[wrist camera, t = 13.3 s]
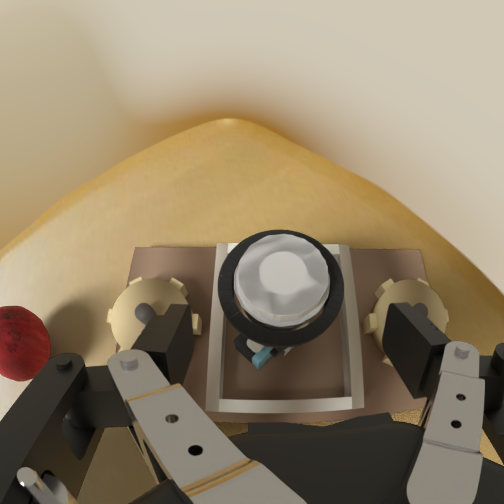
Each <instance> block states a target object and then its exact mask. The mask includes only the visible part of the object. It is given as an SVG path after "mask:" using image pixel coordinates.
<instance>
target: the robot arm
mask: <svg viewBox="0 0 504 504" xmlns="http://www.w3.org/2000/svg"><path fill="white" fill-rule="evenodd" d="M382 347H383V350H384V352H385V354H386V355H387V357H388V358H389V360H390V362H391V363H392V365H393V366H394V368H395V369H396V371H397V373H398V374H399V376H400V378H401V379H402V381H403V382H404V384H405V386H406V387H407V389H408V391H409V392H410V394H411V396H412V397H413V399H419V398H424V397H427V400H426V402H425V405H424V407H423V410H422V413H421V416H420V419H419V422H418V425H414V424H411V423H406V422H398V421H393V419H392V417H391V415H390V413H389V412H386V413H380V414H373V415H366V416H358V417H355V418H352V419H348V420H345V421H342V422H339V423H335V424H332V425H329V426H323V427H322V426H311V425H303V424H295V423H288V422H248V433H242V434H238V435H234V436H231V437H228V438H227V437H226V436H225V435H224V434H223V433H222V431H221V430H220V429H219V428H218V427H217V426H216V425H215V424H214V423H213V422H212V421H211V419H210V418H209V417H208V416H207V415H206V414H205V413H204V412H203V410H202V409H201V408H200V407H199V406H198V405H197V403H196V402H195V401H194V400H193V399H192V398H191V396H190V395H189V394H188V393H187V392H186V390H185V389H184V388H183V387H182V386H183V383H184V380H185V377H186V374H187V370H188V367H189V364H190V361H191V358H192V355H193V350H194V337H193V326H192V314H191V307H190V304H170V306H169V307H168V309H167V311H166V312H165V314H164V315H157V316H155V317H154V318H152V319H151V320H149V321H148V323H147V324H146V326H145V328H144V329H143V330H142V332H141V334H140V335H139V336H138V338H137V339H136V341H135V343H134V344H133V346H132V347H131V349H130V350H123V351H120V352H117V353H115V354H114V355H112V356H111V357H110V358H109V360H108V365H106V366H92V367H86V366H85V363H84V360H83V358H82V357H81V356H80V355H78V354H74V353H64V354H59V355H57V356H54V357H53V358H51V359H50V360H49V361H48V362H47V363H46V364H45V365H44V366H43V368H42V369H41V370H40V371H39V373H38V374H37V375H36V376H35V377H34V379H33V380H32V381H31V382H30V384H29V385H28V386H27V387H26V389H25V390H24V391H23V392H22V394H21V395H20V396H19V398H18V399H17V400H16V401H15V403H14V404H13V405H12V407H11V408H10V409H9V411H8V412H7V413H6V415H5V416H4V417H3V419H2V420H1V421H0V504H79V503H78V502H77V501H76V499H77V497H78V494H79V491H80V489H81V486H82V483H83V481H84V478H85V476H86V473H87V471H88V468H89V466H90V463H91V461H92V458H93V456H94V453H95V451H96V448H97V446H98V443H99V441H100V439H101V436H102V434H103V432H104V429H105V428H109V427H126V426H127V428H128V430H129V432H130V434H131V436H132V438H133V440H134V442H135V444H136V445H137V447H138V449H139V451H140V453H141V455H142V456H143V458H144V460H145V462H146V464H147V465H148V467H149V469H150V471H151V473H152V475H153V477H154V479H155V481H156V483H157V486H155V487H154V488H152V489H151V490H149V491H148V492H146V493H145V494H143V495H142V496H140V497H138V498H137V499H135V500H134V501H132V502H131V503H129V504H504V466H502V465H500V464H498V463H496V462H493V461H491V460H489V459H487V458H484V457H483V455H482V453H481V452H480V451H479V448H480V440H481V432H482V429H483V430H484V432H485V434H486V435H487V437H488V438H489V440H490V442H491V443H492V445H493V447H494V448H495V450H496V452H497V454H498V455H499V457H500V459H501V460H502V462H503V464H504V343H501V344H498V345H497V346H496V348H495V351H494V353H493V356H479V351H478V350H477V349H476V348H475V347H474V346H473V345H471V344H469V343H466V342H461V341H453V342H452V341H451V340H450V339H449V338H448V337H447V336H446V335H445V334H444V333H443V332H442V331H441V330H439V328H438V327H437V326H436V325H434V323H433V322H432V321H431V320H430V319H429V318H428V317H426V316H424V315H422V314H420V313H418V312H417V311H416V310H415V309H414V308H413V307H412V306H411V305H410V304H409V303H408V302H402V303H391V304H390V305H389V307H388V310H387V315H386V321H385V326H384V331H383V336H382ZM64 417H65V418H64ZM63 419H64V420H63Z"/></svg>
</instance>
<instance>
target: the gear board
mask: <svg viewBox="0 0 504 504" xmlns="http://www.w3.org/2000/svg"><path fill="white" fill-rule="evenodd" d="M238 244H239V243H217V248H168V247H135V250H134V254H133V259H132V263H131V268H130V272H129V277H128V282H127V287H126V289H125V290H124V291H123V292H122V293H121V294H120V296H119V297H118V298H117V300H116V302H115V304H114V307H113V309H109V311H108V317H107V322H108V323H109V324H110V325H111V328H112V332H113V335H114V337H115V339H116V341H117V346H116V353H117V352H120V351H123V350H130V349H131V347H132V346H133V344H134V343H135V341H136V339H137V338H138V336H139V335H140V334H141V332H142V330H143V329H144V328H145V326H146V324H147V323H148V321H149V320H151V319H152V318H154V317H155V316H157V315H164V314H165V312H166V311H167V309H168V307H169V306H170V304H190V307H191V314H192V326H193V337H194V350H193V355H192V358H191V361H190V364H189V367H188V370H187V374H186V377H185V380H184V383H183V386H182V387H183V388H184V389H185V390H186V392H187V393H188V394H189V395H190V396H191V398H192V399H193V400H194V401H195V402H196V403H197V405H198V406H199V407H200V408H201V409H202V410H203V412H204V413H205V414H206V415H207V416H208V417H209V418H210V419H211V421H213V422H230V423H248V422H288V423H306V422H323V421H336V420H347V419H352V418H355V417H358V416H366V415H373V414H380V413H386V412H389V413H390V414H393V413H399V412H405V411H410V410H415V409H420V408H423V407H424V405H425V402H426V400H427V397H424V398H419V399H413V397H412V396H411V394H410V392H409V391H408V389H407V387H406V386H405V384H404V382H403V381H402V379H401V378H400V376H399V374H398V373H397V371H396V369H395V368H394V366H393V365H392V363H391V362H390V360H389V358H388V357H387V355H386V354H385V352H384V350H383V347H382V336H383V331H384V326H385V321H386V315H387V310H388V307H389V305H390V304H391V303H402V302H408V303H409V304H410V305H411V306H412V307H413V308H414V309H415V310H416V311H417V312H418V313H420V314H422V315H424V316H426V317H428V318H429V319H430V320H431V321H432V322H433V323H434V325H436V326H437V327H438V328H439V330H441V331H442V332H443V333H444V334H445V330H446V323H447V322H449V316H448V311H447V309H445V308H444V305H443V303H442V301H441V299H440V298H439V296H438V295H437V294H436V292H435V291H434V290H433V289H432V288H430V287H429V283H428V282H427V278H426V273H425V269H424V265H423V261H422V257H421V253H420V250H401V249H349V244H322V245H323V246H325V247H326V248H327V249H328V250H329V251H330V253H331V254H332V255H333V256H334V258H335V259H336V261H337V263H338V265H339V267H340V269H341V272H342V275H343V279H344V299H343V303H342V306H341V309H340V311H339V313H338V315H337V317H336V318H335V320H334V321H333V323H332V324H331V325H330V327H329V328H328V329H327V330H326V331H325V332H324V333H323V334H321V335H320V336H319V337H317V338H315V339H314V340H312V341H310V342H308V343H305V344H302V345H299V346H295V347H293V348H292V349H291V350H290V351H289V352H288V353H287V354H286V355H285V356H284V353H285V351H284V350H282V351H281V352H280V353H279V354H278V355H277V356H276V357H275V358H274V357H273V356H271V357H270V358H269V359H268V360H267V361H266V362H265V364H264V365H263V366H262V367H261V368H260V369H259V370H258V369H257V368H256V367H255V366H254V365H253V364H252V363H251V362H249V361H248V360H247V359H246V358H245V357H244V356H243V355H242V354H241V353H240V352H239V351H238V350H237V349H236V347H235V344H234V339H235V338H236V337H237V336H238V335H239V334H240V333H239V332H238V331H237V330H236V329H235V328H234V327H233V326H232V325H231V324H230V322H229V321H228V319H227V318H226V316H225V314H224V312H223V310H222V307H221V304H220V301H219V297H218V276H219V272H220V269H221V266H222V264H223V262H224V260H225V259H226V257H227V255H228V254H229V253H230V252H231V250H232V249H233V248H234V247H235V246H236V245H238ZM234 301H235V303H236V305H237V307H238V308H239V310H240V311H241V313H242V314H243V315H244V313H243V308H242V306H241V304H240V302H239V300H238V298H237V295H236V293H234ZM323 308H324V305H323V306H322V308H321V309H320V311H319V312H318V313H317V314H316V315H314V316H313V317H311V319H310V321H309V323H308V325H309V324H310V323H312V322H313V321H315V320H316V319H317V318H318V317H319V316H320V315H321V314H322V311H323ZM306 326H307V325H306Z"/></svg>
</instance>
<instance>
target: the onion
mask: <svg viewBox="0 0 504 504" xmlns="http://www.w3.org/2000/svg"><path fill="white" fill-rule="evenodd" d="M50 350H51V347H50V337H49V334H48V332H47V330H46V328H45V326H44V324H43V322H42V320H41V319H40V318H38V317H37V316H36V315H35V314H34V313H32V312H31V311H29V310H27V309H25V308H23V307H21V306H4V307H0V374H1V375H2V376H4V377H6V378H9V379H12V380H15V381H27V380H30V379H33V378H34V377H35V376H36V375H37V374H38V373H39V371H40V370H41V369H42V368H43V366H44V365H45V364H46V363H47V362H48V361H49V356H50Z"/></svg>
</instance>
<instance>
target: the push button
mask: <svg viewBox="0 0 504 504" xmlns="http://www.w3.org/2000/svg"><path fill="white" fill-rule="evenodd" d="M234 293H236V295H237V298H238V300H239V302H240V304H241V306H242V308H243V313H244V315H243V314H242V313H241V311H240V310H239V308H238V307H237V305H236V303H235V301H234ZM218 297H219V301H220V304H221V307H222V310H223V312H224V314H225V316H226V318H227V319H228V321H229V322H230V324H231V325H232V326H233V327H234V328H235V329H236V330H237V331H238V332H239V333H240V334H239V335H238V336H237V337H236V338H235V339H234V344H235V347H236V349H237V350H238V351H239V352H240V353H241V354H242V355H243V356H244V357H245V358H246V359H247V360H248V361H249V362H251V363H252V364H253V365H254V366H255V367H256V368H257V369H258V370H259V369H260V368H261V367H262V366H263V365H264V364H265V362H266V361H267V360H268V359H269V358H270V357H271V356H273V357H274V358H275V357H276V356H277V355H278V354H279V353H280V352H281V351H282V350H284V351H285V353H284V356H285V355H286V354H287V353H288V352H289V351H290V350H291V349H292V348H293V347H295V346H299V345H302V344H305V343H308V342H310V341H312V340H314V339H315V338H317V337H319V336H320V335H321V334H323V333H324V332H325V331H326V330H327V329H328V328H329V327H330V325H331V324H332V323H333V321H334V320H335V318H336V317H337V315H338V313H339V311H340V309H341V306H342V303H343V299H344V279H343V275H342V272H341V269H340V267H339V265H338V263H337V261H336V259H335V258H334V256H333V255H332V254H331V253H330V251H329V250H328V249H327V248H326V247H325V246H323V245H322V244H321V243H320V242H318V241H317V240H315V239H313V238H311V237H309V236H307V235H305V234H302V233H299V232H295V231H289V230H269V231H264V232H260V233H257V234H255V235H252V236H250V237H248V238H246V239H245V240H243V241H242V242H240V243H239V244H238V245H236V246H235V247H234V248H233V249H232V250H231V252H230V253H229V254H228V255H227V257H226V259H225V260H224V262H223V264H222V266H221V269H220V272H219V276H218ZM323 305H324V308H323V311H322V314H321V315H320V316H319V317H318V318H317V319H316V320H315V321H313V322H312V323H310V324H309V325H308V323H309V321H310V319H311V317H313V316H314V315H316V314H317V313H318V312H319V311H320V309H321V308H322V306H323ZM306 325H307V326H306Z"/></svg>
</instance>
